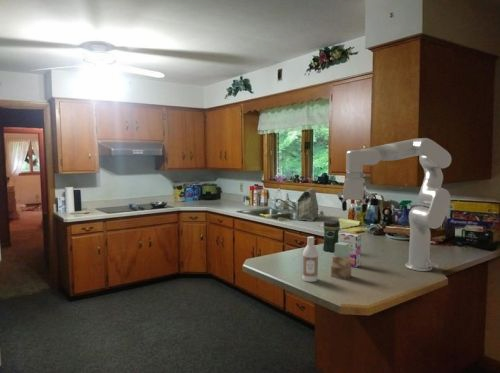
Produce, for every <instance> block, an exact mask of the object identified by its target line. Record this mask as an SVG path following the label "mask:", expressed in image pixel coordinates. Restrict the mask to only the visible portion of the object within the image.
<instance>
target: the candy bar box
mask: <svg viewBox="0 0 500 373" xmlns="http://www.w3.org/2000/svg"><path fill="white" fill-rule="evenodd" d="M338 242H344V243H349V256H350V266H351V268H359V267H360V266H361V254H362V251H361V250H362V234H355V233H350V232H344V231H343V232H339V233H338Z"/></svg>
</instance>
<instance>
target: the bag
mask: <svg viewBox="0 0 500 373" xmlns="http://www.w3.org/2000/svg"><path fill="white" fill-rule="evenodd" d="M296 202H297V206H296V208H297V211H296V212H297V214H296V215H297V216H296V220H297V221H309V222H313V221H314V220H316V219H317V218H318V217H319V204H318V199H317V195H316V190H315V189H314V188H313V187H310V188H309V189H306V190H305V191H303V192H302V193H301V195H300V196H299V197H298V199H297V201H296Z"/></svg>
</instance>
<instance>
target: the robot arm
mask: <svg viewBox="0 0 500 373" xmlns="http://www.w3.org/2000/svg"><path fill="white" fill-rule="evenodd" d="M345 155H346V156H345V159H346V161H345V166H346V167H345V171H346V172H345V179H344V182H343V189H342V191H339V192H337V193H336V195H337V197H338V200H339V201H340V202H341V209H342V211H343V212H345V211H347V210H348V204H347V203H348V202H347V200H353V201H360V202H362V204H361V213H366V212H367V210H368V209H367V208H368V203H369V202H370V201H371V200H372V199H373V194H371V193H370V192H368V191H367V188H366V181H365V177H366V173H364V171H363V170H364V168H363V166H364V165H365V166H374V165H375V166H376V165H377V164H378V163H380V162H383V161H386V162H387V161H388V162H389V161H398V160H402V159H406V158H412V157H418V156H419V160H418V161H419V164H420V165H421V167H422V168H423V173H424V177H423V181H422V184H421V187H420V190H419V193H418V201H419V202H420V204H422V205H427V206H429V207H425V206H420V205H418V206H414V207H412V208H411V209H410V210H409V211H408V212H409V213H408V222H409V243H408V244H409V248H408V261H407V262H406V263H405V265H404V266H405V267H406V268H407V269H409V270H413V271H418V272H429V271H432V270H433V268H435V269H439V264H438V263H436V262H432V259H430V251H431V250H430V249H431V230H430V229H433V230H435V229H438V228H440V227H441V226H442V224H443V223H444V221H445V218H446V215H447V212H448V209H449V207H450V204H451V193H450V192H449V190H448V189H446V188H443V187H442V184H443V181H444V174H443V172H442V171H443V170H442V169H446V168H448V167H449V166H450V165H451V163H452V156H451V154H450V153H449V152H448V150H447V149H445V148H444V147H442V146H441V145H440V144H438V143H437V142H435V141H434V140H432V139H430V138H428V137H423V138H420V137H419V138H412V139H406V140H402V141H396V142H390V143H386V144H383V145H378V146H371V147H367V148H366V147H365V148H361V149H351V150H347V151H346V153H345Z"/></svg>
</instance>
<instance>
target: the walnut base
mask: <svg viewBox="0 0 500 373" xmlns="http://www.w3.org/2000/svg"><path fill="white" fill-rule="evenodd" d="M330 271H331V272H330V277H332V278H336V279H340V280H344V281H345V280H347V279H349V278H351V277H352V267H351V266H349V267H347V268H346V269H341V268H336V267H332V265H331V267H330Z"/></svg>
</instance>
